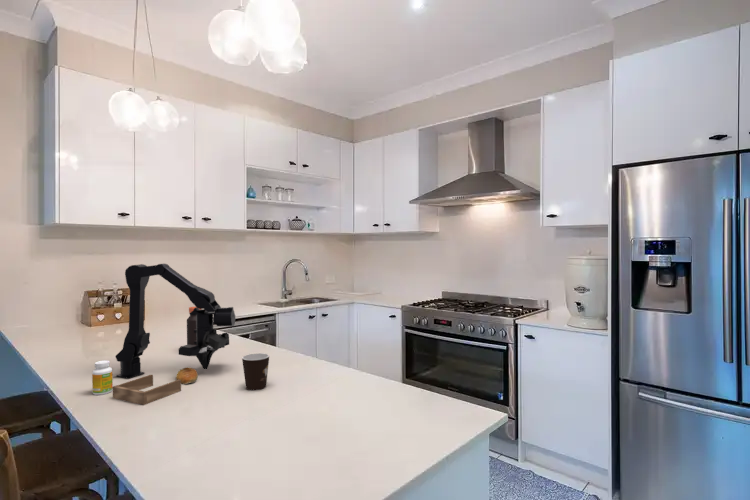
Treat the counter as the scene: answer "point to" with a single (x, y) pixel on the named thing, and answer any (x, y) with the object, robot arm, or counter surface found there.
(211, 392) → the counter surface
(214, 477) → the counter surface
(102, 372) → the supplement bottle
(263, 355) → the coffee mug
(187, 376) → the pastry
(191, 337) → the vinegar
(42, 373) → the counter surface
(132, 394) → the box
